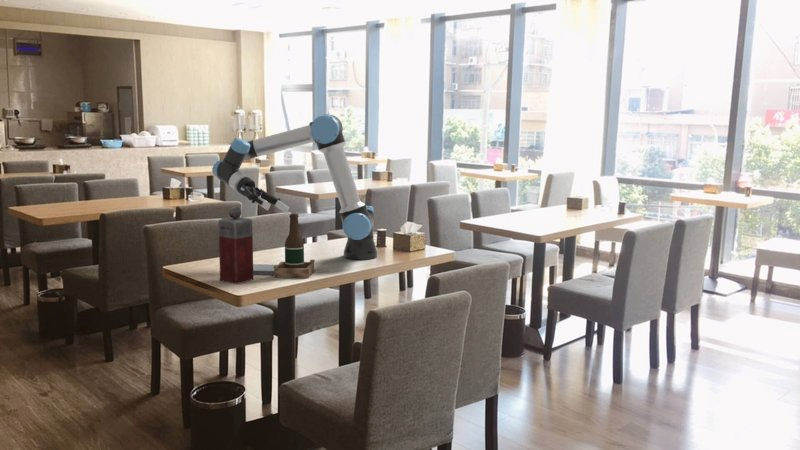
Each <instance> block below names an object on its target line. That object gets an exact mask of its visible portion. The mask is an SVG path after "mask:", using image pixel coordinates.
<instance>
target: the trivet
mask: <svg viewBox="0 0 800 450" xmlns="http://www.w3.org/2000/svg"><path fill="white" fill-rule="evenodd" d="M274 265H275V264H263V263H262V264H258V263H253V275H259V276H260V275H267V276H270V275H271V276H273V275H274Z"/></svg>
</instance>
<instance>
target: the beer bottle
mask: <svg viewBox="0 0 800 450" xmlns="http://www.w3.org/2000/svg"><path fill="white" fill-rule="evenodd" d="M299 217H300V216H299V214H298V213H289V231H288V235H287V237H286V240H285V242H284V262H285V268H304V262H305V243H304V239H303V237H302V235H301V233H300V227H299V226H300V225H299Z"/></svg>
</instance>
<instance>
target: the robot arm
mask: <svg viewBox="0 0 800 450" xmlns="http://www.w3.org/2000/svg"><path fill="white" fill-rule="evenodd" d="M343 128H344V127H343V124H342V121H341V119H339V118H338V117H337V116H335V115H334V114H333V115H332V114H328V113H327V114H326V113H325V114H321V115H319V116H317V117H316V118H314V119H313V121H310V122H309V123H308V125H305V126H300V127H298V128H293V129H290V130H285V131H283V132H279V133H275V134H271V135H267V136H264V137H260V138H256V139H252V140H249V141H247V140H244V139H243V138H240V137H234V138H233V140H232V142H231V143H230V146H229V148H228V150H227V152H226V154H225V156H224V158H223V159H218V160H217V161H216V162H215V163H214V164H213V166H212V167H211V168H212V169H211V170H212V174H213V175H214V176H215V177H217V179H218V180H220V181H221V182H223V183H225V184H226V185H228V186H229V187H230V188H232V191H236V192H237V193H239V194H241V195H242V196H244V197H245V198H247V199H248V200H249V201H251V203H252V204H255V203H256V204H257V205H259V206H260V207H261V208H263V209H264V210H265V211H269V210H270V207H271V206H272V205H274V207H275V208H277V209H279V210H280V211H282V212H283V213H284V214H288V212H289V210H290V207H289V206H288V205H286V204H285V203H284V202H282V199H281V198H279V197H277V196H276V197H275V196H274V195H272V194H270V193H268V192H267V191H265V190H263V189H262V188H259V187H256V182H255V181H254V180H253V179H251V177H248V176H247V175H246V174H245V173H243V172H241V171H240V168H241V167H242V165H243V162H244V161H249V160H252V159H255V158H259V157H262V156H266V155H269V154H274V153H277V152H281V151H285V150H288V149H291V148H292V149H293V148H296V147H300V146H304V145H307V144H311V143H313V144H315V145H316V146H317V149H318V151H319V152H321V153H323V155H324V158H325V161H326V165H327V168H328V171H329V173H330V177H331V180H332V182H333V186H334V189H335V192H336V196H337V199H338V201H339V204H340V207H341V208H340V210H339V216H340V218H341V222H342V230H343V233H344V234H345V236H346V237H347V240H346V244H345V246H344V249H343V258H346V259H350V260H371V259H375V258H377V257H378V250H377V246H376V243H375V241H374V240H375V239H374V221H375V220H374V216H375V215H374V214H375V212H374V207H373V206H372V205H366V203H364V202H362V200H361V197H360V195H359V192H358V189H357V185H356V182H355V179H354V176H353V173H352V171H351V167H350V164H349V161H348V159H347V155H346V151H345V148H344V146H345V144H346V140H345V137H344V135H343V130H344V129H343Z"/></svg>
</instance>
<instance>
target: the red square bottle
mask: <svg viewBox="0 0 800 450" xmlns="http://www.w3.org/2000/svg"><path fill="white" fill-rule="evenodd" d="M228 214H229V217H228V218H226V217H225V218H221V219H219V220H218V249H219V250H218V253H219V281H221V282H226V283H231V284H235V285H236V284H241V283H245V282H248V281H252V280H254V274H253V264H254V245H253V243H254V240H253V239H254V238H253V236H254V235H253V221H252V218H245V217H241V215H242V209H241V208H240V207H239V206H232V207H230V208H229V210H228Z"/></svg>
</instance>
